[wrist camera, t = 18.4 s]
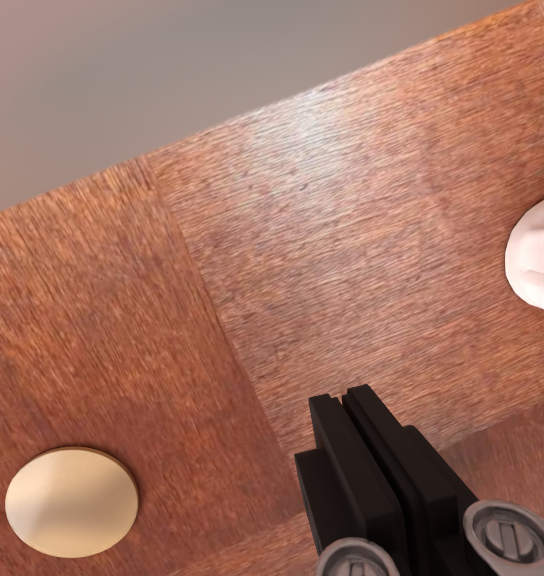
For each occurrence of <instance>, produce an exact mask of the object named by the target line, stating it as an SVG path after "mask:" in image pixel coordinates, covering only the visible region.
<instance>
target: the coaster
mask: <svg viewBox="0 0 544 576" xmlns="http://www.w3.org/2000/svg"><path fill="white" fill-rule="evenodd" d="M5 507H6V514H7V518H8V521H9V523H10V525H11V527H12V529H13V530H14V532H15V533H16V534H17V535H18V536H19V537H20V538H21V539H22V540H23V541H24V542H25V543H26V544H28V545H29V546H31V547H32V548H34V549H36V550H38V551H40V552H43V553H45V554H49V555H52V556H57V557H66V558H77V557H85V556H89V555H94V554H96V553H99V552H102V551H104V550H106V549H108V548H110V547H111V546H113V545H115V544H116V543H117V542H118V541H120V540H121V539H122V538H123V537H124V536H125V535H126V534H127V532H128V531H129V530H130V528H131V526H132V525H133V523H134V521H135V518H136V515H137V512H138V507H139V492H138V488H137V484H136V482H135V480H134V478H133V476H132V475H131V473H130V472H129V470H128V469H127V468H126V467H125V466H124V465H123V464H122V463H121V462H120V461H118V460H117V459H115V458H114V457H112V456H111V455H109V454H107V453H104V452H102V451H99V450H96V449H92V448H87V447H72V446H71V447H62V448H57V449H53V450H50V451H47V452H44V453H42V454H40V455H38V456H36V457H35V458H33V459H31V460H30V461H29V462H27V463H26V464H25V465H24V466H23V467H22V468H21V469H20V470H19V471H18V473H17V474H16V475H15V477H14V478H13V480H12V481H11V483H10V485H9V487H8V491H7V494H6V501H5Z"/></svg>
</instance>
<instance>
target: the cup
mask: <svg viewBox="0 0 544 576" xmlns="http://www.w3.org/2000/svg"><path fill="white" fill-rule="evenodd" d="M505 270H506V276H507V279H508V281H509V283H510V285H511V287H512V288H513V290H514V292H515V293H516V294H517V295H518V296H519V297H520V298H522V299H523V300H524V301H526V302H527V303H528V304H530V305H533V306H536V307H539V308H542V309H544V200H543V201H541V202H540V203H538V204H537V205H535V206H534V207H532V208H531V209H530V210H529V211H527V212H526V213H525V214H524V216H523V217H522V218H521V219H520V220H519V222H518V223H517V224H516V226H515V227H514V229H513V230H512V232H511V235H510V238H509V241H508V244H507V248H506V252H505Z"/></svg>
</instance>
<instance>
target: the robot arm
mask: <svg viewBox="0 0 544 576" xmlns="http://www.w3.org/2000/svg"><path fill="white" fill-rule="evenodd" d="M342 405H343V406H342ZM309 407H310V413H311V419H312V424H313V430H314V436H315V442H316V447H317V449H313V450H309V451H305V452H301V453H297V454H294V457H295V463H296V468H297V473H298V478H299V483H300V488H301V492H302V497H303V501H304V505H305V509H306V513H307V517H308V520H309V524H310V527H311V531H312V535H313V538H314V542H315V546H316V549H317V553H318V557H319V558H318V560H317V563H316V566H315V569H314V576H544V520H543V519H542V518H541V517H539V516H538V515H536V514H535V513H533V512H532V511H530V510H529V509H527V508H525V507H523V506H520V505H518V504H516V503H513V502H509V501H505V500H500V499H485V500H481V501H479V500H478V498H477V497H476V496H475V495H474V494H473V493H472V492H471V490H470V489H469V488H468V487H467V486H466V485H465V483H464V482H463V481H462V480H461V479H460V478H459V477H458V475H457V474H456V473H455V472H454V471H453V470H452V469H451V467H450V466H449V465H448V464H447V463H446V462H445V460H444V459H443V458H442V457H441V456H440V455H439V454H438V452H437V451H436V450H435V449H434V448H433V447H432V446H431V444H430V443H429V442H428V441H427V440H426V439H425V437H424V436H423V435H422V434H421V433H420V432H419V431H418V429H416V428H415V427H414V426H412V425H408V426H404V427H402V426H401V424H400V423H399V422H398V421H397V420H396V418H395V417H394V416H393V415H392V413H391V412H390V411H389V410H388V408H387V407H386V406H385V405H384V403H383V402H382V401H381V400H380V399H379V397H378V396H377V395H376V394H375V392H374V391H373V390H372V389H371V387H370V386H369V385H368V384H365V385H360V386H356V387H352V388H348V389H347V394H346V395H342V404H341V403H340V401H339V399H338V398H337V397H333V398H331V397H330V395H329V394H328V393H327V394H323V395H319V396H314V397H310V398H309Z"/></svg>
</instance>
